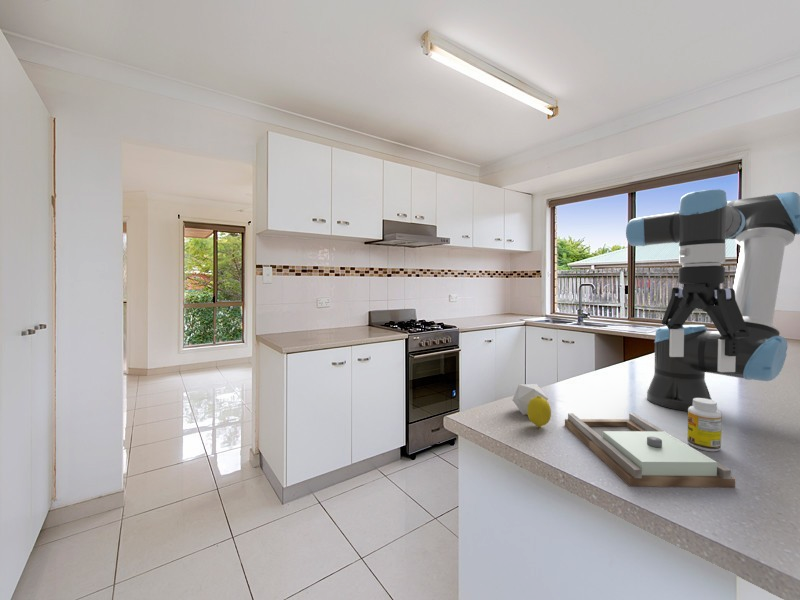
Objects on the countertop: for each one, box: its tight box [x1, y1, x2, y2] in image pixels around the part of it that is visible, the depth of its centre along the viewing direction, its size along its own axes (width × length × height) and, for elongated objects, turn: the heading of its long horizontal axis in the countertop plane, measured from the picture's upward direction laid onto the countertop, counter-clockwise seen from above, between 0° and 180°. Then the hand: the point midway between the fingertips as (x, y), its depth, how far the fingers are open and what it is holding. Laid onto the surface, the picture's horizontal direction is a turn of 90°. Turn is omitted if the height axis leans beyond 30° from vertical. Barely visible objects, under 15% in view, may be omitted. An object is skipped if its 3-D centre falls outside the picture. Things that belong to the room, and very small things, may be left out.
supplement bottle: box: [686, 398, 723, 452], centre depth 76 cm, size 6×6×10 cm
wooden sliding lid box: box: [564, 412, 736, 488], centre depth 75 cm, size 18×27×3 cm, turn 178°
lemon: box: [527, 396, 552, 428], centre depth 88 cm, size 6×6×8 cm
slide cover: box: [603, 430, 718, 476], centre depth 69 cm, size 13×13×4 cm
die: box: [512, 383, 549, 416], centre depth 98 cm, size 8×9×10 cm
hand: (699, 363), depth 76 cm, fingers open, 13 cm apart
